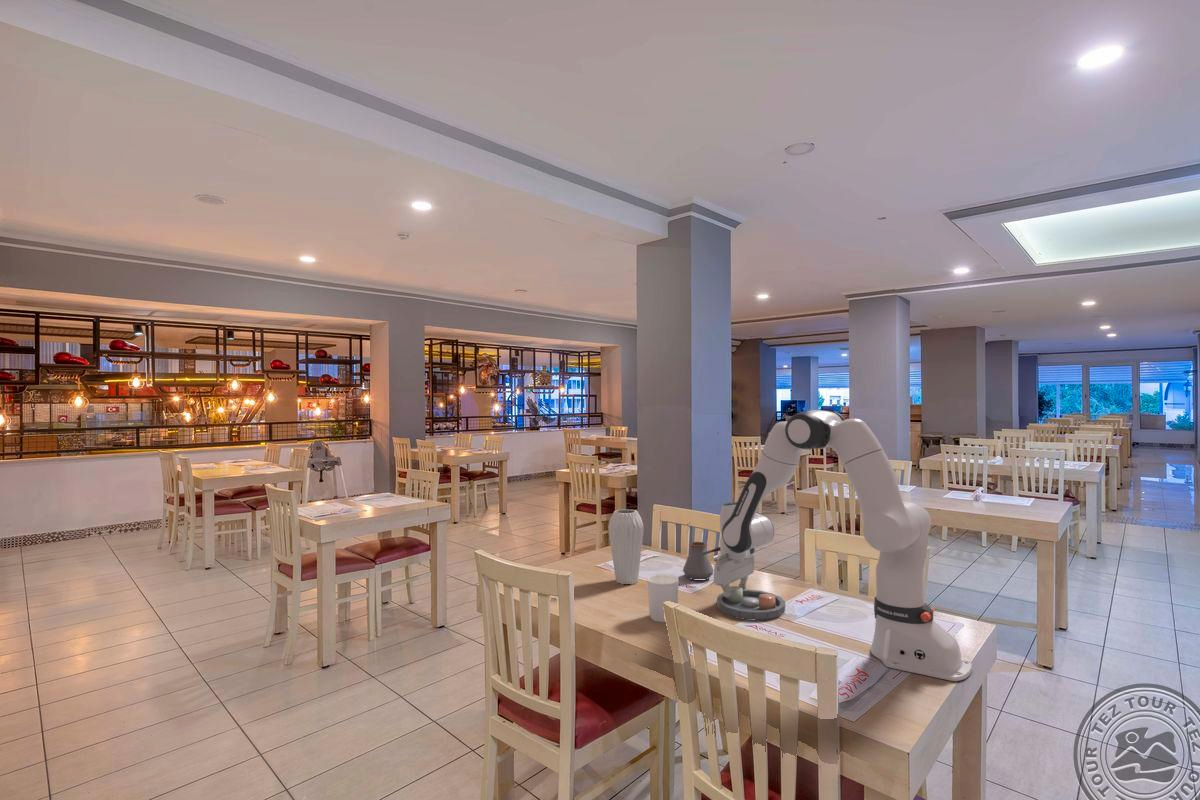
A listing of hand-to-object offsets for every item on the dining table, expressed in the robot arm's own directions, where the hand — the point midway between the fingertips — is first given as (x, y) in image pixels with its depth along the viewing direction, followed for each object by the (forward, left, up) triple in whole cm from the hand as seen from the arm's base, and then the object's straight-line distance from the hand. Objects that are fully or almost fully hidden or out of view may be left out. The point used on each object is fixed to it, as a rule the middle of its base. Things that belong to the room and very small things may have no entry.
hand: (734, 592), depth 186 cm
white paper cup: (+10, +25, -4) cm, 27 cm away
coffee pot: (+20, -15, -4) cm, 26 cm away
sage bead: (0, 0, -3) cm, 3 cm away
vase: (+42, +6, -4) cm, 43 cm away
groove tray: (-6, 0, -4) cm, 7 cm away
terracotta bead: (-11, 0, -3) cm, 12 cm away
